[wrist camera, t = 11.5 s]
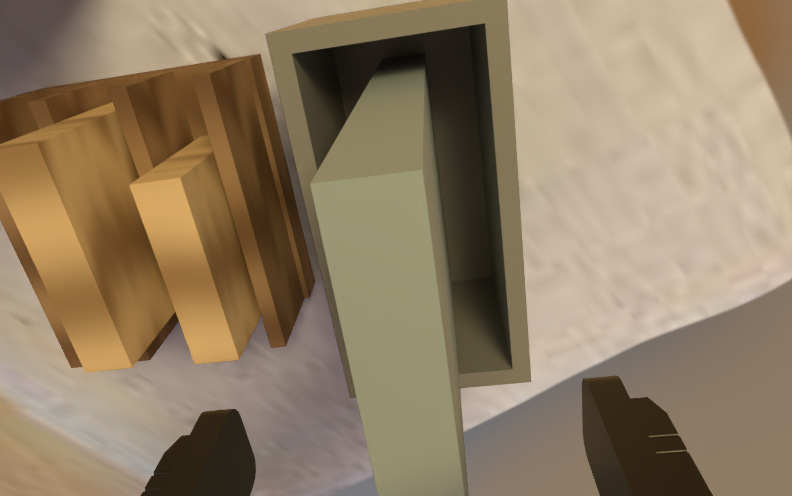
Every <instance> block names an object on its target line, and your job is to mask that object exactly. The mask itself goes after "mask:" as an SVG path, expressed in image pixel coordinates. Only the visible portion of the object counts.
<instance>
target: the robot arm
mask: <svg viewBox="0 0 792 496" xmlns="http://www.w3.org/2000/svg"><path fill="white" fill-rule="evenodd" d="M582 410H583V411H582V417H583V439H584V445H585V450H586V454H587V458H588V461H589V464H590V467H591V470H592V473H593V476H594V479H595V482H596V485H597V488H598V491H599V494H600V496H713V495H712V493H711V492H710V490H709V488H708V486H707V484H706V483H705V481H704V479H703V477H702V475H701V474H700V472H699V470H698V468H697V466H696V465H695V463H694V461H693V459H692V458H691V456H690V454H689V453H687V449H686V447H685V445H684V443H683V441H682V440H681V438H680V436H678V432H677V431H676V429H675V427H674V425H673V424H672V422H671V420H670V418H669V416H668V414H667V413H666V412H665V411H664V410H662V409H661V408H660V407H659V406H658V405H656V404H655V403H654V402H653V401H651V400H650V399H649V398H648V397H644V398H632V399H630V398H629V396H628V393H627V391H626V389H625V387H624V385H623V383H622V381H621V379H620V378H619V377H618V376H607V377H596V378H585V379H583V381H582ZM255 473H256V465H255V458H254V454H253V451H252V448H251V445H250V443H249V440H248V437H247V434H246V431H245V428H244V425H243V422H242V419H241V417H240V414H239V412H238V411H237V410H236V409H228V410H217V411H206V412H203V413H202V414H201V415H200V417H199V418H198V420H197V422H196V424H195V426H194V428H193V430H192V432H191V434H190V435H186V436H181V437H180V438H179V439H178V440H177V441H176V442H175V443H174V444H173V445H172V446H171V447H170V448H169V449H168V450H167V451H166V452H165V453H164V455H163V456H162V458H161V460H160V462H159V464H158V465H157V467H156V469H155V471H154V476H151V478H150V480H149V482H148V484H147V485H146V487H145V492H143V493H142V495H141V496H250V493H251V491H252V488H253V484H254V480H255Z"/></svg>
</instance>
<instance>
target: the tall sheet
mask: <svg viewBox="0 0 792 496" xmlns="http://www.w3.org/2000/svg"><path fill="white" fill-rule="evenodd" d="M310 186H311V191H312V195H313V200H314V205H315V209H316V214H317V218H318V223H319V227H320V232H321V237H322V241H323V246H324V250H325V255H326V260H327V264H328V269H329V273H330V278H331V282H332V287H333V292H334V296H335V301H336V305H337V310H338V315H339V319H340V324H341V328H342V333H343V337H344V342H345V347H346V351H347V356H348V360H349V365H350V370H351V374H352V379H353V383H354V388H355V392H356V397H357V402H358V406H359V411H360V415H361V420H362V425H363V429H364V434H365V438H366V443H367V448H368V452H369V457H370V461H371V466H372V470H373V475H374V479H375V484H376V489H377V493H378V496H468V482H467V471H466V458H465V446H464V433H463V421H462V409H461V397H460V385H459V373H458V360H457V348H456V336H455V324H454V312H453V300H452V287H451V275H450V263H449V254H448V246H447V237H446V228H445V220H444V211H443V203H442V194H441V186H440V177H439V168H438V160H437V151H436V143H435V134H434V126H433V117H432V108H431V100H430V91H429V83H428V74H427V66H426V57H425V53H419V54H413V55H406V56H399V57H392V58H385V59H382V61H381V62H380V64H379V66H378V68H377V69H376V71H375V73H374V74H373V76H372V78H371V80H370V81H369V83H368V85H367V87H366V88H365V90H364V92H363V93H362V95H361V97H360V99H359V100H358V102H357V104H356V105H355V107H354V109H353V111H352V112H351V114H350V116H349V118H348V119H347V121H346V123H345V124H344V126H343V128H342V130H341V131H340V133H339V135H338V137H337V138H336V140H335V142H334V143H333V145H332V147H331V149H330V150H329V152H328V154H327V155H326V157H325V159H324V161H323V162H322V164H321V166H320V168H319V169H318V171H317V173H316V174H315V176H314V178H313V180H312V181H311V183H310Z"/></svg>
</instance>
